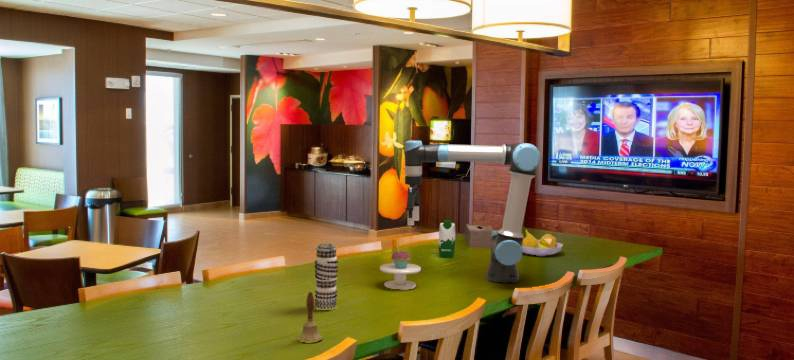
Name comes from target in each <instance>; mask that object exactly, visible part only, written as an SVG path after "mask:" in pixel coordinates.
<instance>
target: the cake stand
mask: <svg viewBox="0 0 794 360" xmlns="http://www.w3.org/2000/svg"><path fill="white" fill-rule="evenodd" d="M379 269H380V271H381V272H383V273H385V274H386V273H387V274H391V275H394V280H388V281H385V282H384V284H383V286H385V287H387V288H386V289H388V288H392V289H401V290H400V291H409V289H411V290H414V289H416V288H417V284H416V282H413V281H411V280H407V275H411V274H413V275H414V274H417V273H419V272H421V270H422V267H421V266H420V265H418V264H413V263H409V262H408V263H407V266H406V268H402V269H400V268H396V267H395V264H394V262H391V263H390V262H389V263H384V264H382V265H380V266H379ZM385 287H384V288H385ZM415 287H416V288H415ZM413 288H414V289H413ZM392 289H391V290H392Z"/></svg>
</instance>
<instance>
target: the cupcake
mask: <svg viewBox="0 0 794 360" xmlns="http://www.w3.org/2000/svg"><path fill="white" fill-rule="evenodd" d="M396 248H397V249H396V250H397V251H395V252H393V253H392V254H391V256H390V258H391V260H392V262H393V263H394V264H395V267H396V268H400V269H402V268H406V266H407V263H408V264H409V262H410V260H412V259H411V258H412V257H411V254H410V253H408V252H407V251H403V250H401V251H400V248H399V242H398V241H396Z"/></svg>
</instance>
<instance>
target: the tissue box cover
mask: <svg viewBox="0 0 794 360" xmlns="http://www.w3.org/2000/svg"><path fill="white" fill-rule="evenodd" d="M493 231H495V230H494V229H493V227H492V226H491V224H483V223H482V224H481V223H466V224H465V232H464V233H465V235H464V237H465V242H466V244H467V245H468V247H469V248H473V249H474V248H477V249H478V248H479V249H482V248H484V249H487V248H488V249H491V235H492V232H493Z"/></svg>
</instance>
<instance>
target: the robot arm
mask: <svg viewBox="0 0 794 360" xmlns="http://www.w3.org/2000/svg"><path fill="white" fill-rule="evenodd" d="M541 158H542V157H541V153H540V150H539V149H538V148H537V146H535V144H532V143H527V142H519V143H517V142H515V143H503V144H502V145H482V144H481V145H479V144H478V145H477V144H474V145H473V144H452V143H451V144H448V143H447V144H445V143H443V144H441V143H432V144H427V145H426V144H423V142H422V140H407V141H406V142H405V145H404V168H403V170H404V175H405V176H404V184H405V185H406V186H407V185H409V187H408V188H407V198H406V199H407V200H406V208H405V211H407V226H414V225H415V221H417V222H419V221H420V207H421V206H422V204H421V200H420V191H419V188H420V187H419V185H421V184H422V183H423V182H422V181H423V177H422V176H423V163H447V162H449V161H450V162H451V161H453V162H478V163H479V162H480V163H501V164H502V165H503V166H509V170H508V172H509V173H510V175H511V179H510V182H509V183H510V184H509V188H508V192H507V193H508V194H507V200H506V205H505V210H504V214H503V215H504V216H503V220H502V227H501V228H500V229H499V230H494V231H493V232H492V235H491V248H490V262H489V265H488V268H487V270H486V271H487V272H486V273H485V274H486V275H485V276H486V277H485V279H486V280H487V281H489V282H492V281H493V283H497V282H503V283H502V284H508V283H507V282H514V283H516V282H515V281H518V280H519V281H520V274H519V271H518V268H517V267H518V266H517V263H519V262H520V260H521V259H522V257H523V253H524V252H522V251H523V250H522V243H523V239H524V238H525V237H524V234H523V233H522V228H523V224H524V219H525V214H526V209H527V208H526V207H527V203H528V197H529V192H530V187H531V184H532V183H531V182H532V179H533V178H535V177H536V176H537V175H536V174H537V170H538V167H539V166H540V163H541V160H542V159H541ZM519 281H518V282H519Z"/></svg>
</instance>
